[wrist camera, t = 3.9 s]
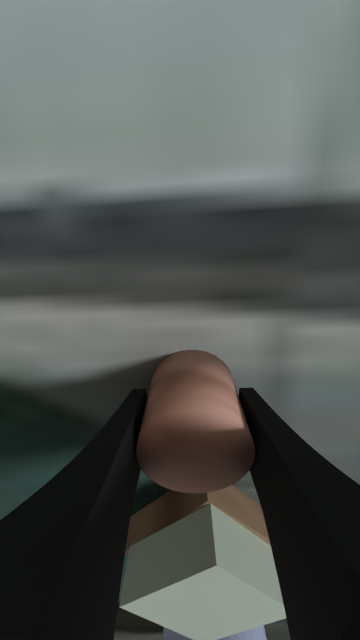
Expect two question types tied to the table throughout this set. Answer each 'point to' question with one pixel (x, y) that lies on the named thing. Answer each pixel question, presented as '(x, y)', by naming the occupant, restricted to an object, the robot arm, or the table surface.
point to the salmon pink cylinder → (194, 426)
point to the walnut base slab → (184, 504)
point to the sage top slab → (203, 578)
